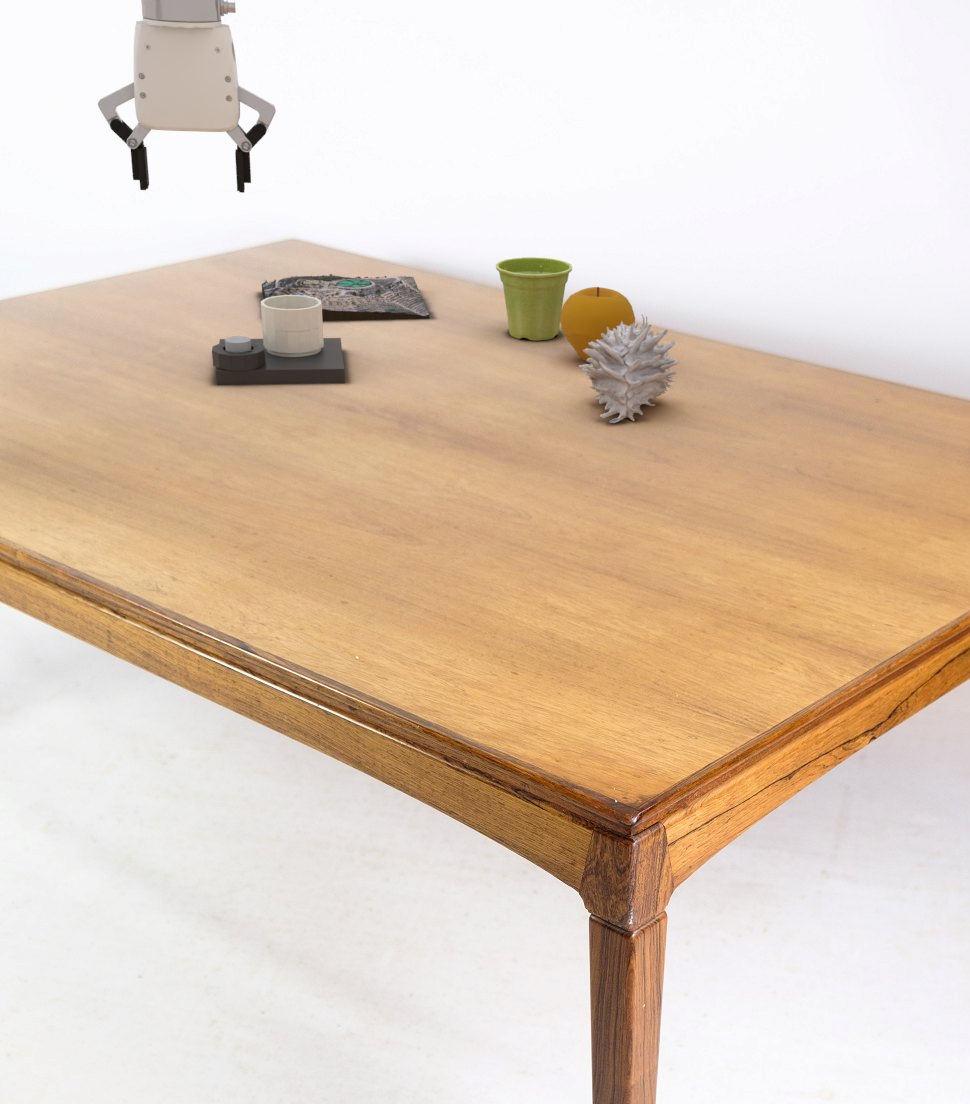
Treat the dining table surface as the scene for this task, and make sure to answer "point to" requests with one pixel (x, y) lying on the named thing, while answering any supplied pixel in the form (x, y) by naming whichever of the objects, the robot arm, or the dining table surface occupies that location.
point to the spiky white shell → (629, 369)
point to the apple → (593, 316)
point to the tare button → (238, 344)
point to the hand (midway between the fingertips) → (193, 189)
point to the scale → (278, 365)
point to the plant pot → (534, 295)
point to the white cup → (292, 325)
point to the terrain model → (355, 296)
